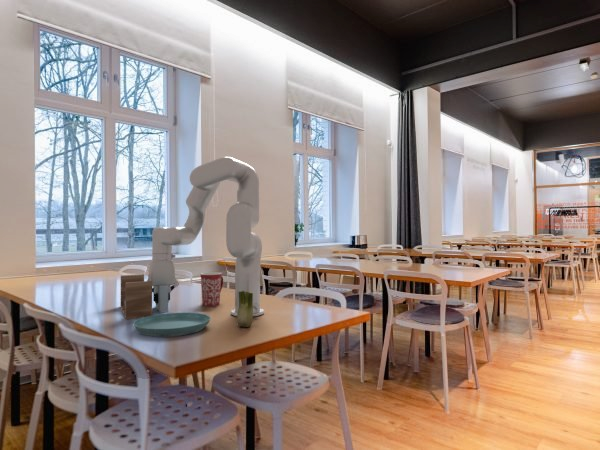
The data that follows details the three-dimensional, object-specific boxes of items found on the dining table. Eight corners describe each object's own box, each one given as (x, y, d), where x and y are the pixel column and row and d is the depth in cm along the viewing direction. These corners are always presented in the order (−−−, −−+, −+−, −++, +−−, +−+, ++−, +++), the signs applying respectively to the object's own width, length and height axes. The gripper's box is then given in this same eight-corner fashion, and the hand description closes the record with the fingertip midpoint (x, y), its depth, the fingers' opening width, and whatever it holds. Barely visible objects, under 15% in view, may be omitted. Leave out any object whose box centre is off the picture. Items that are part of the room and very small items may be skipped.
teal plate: (200, 318, 151) (200, 309, 151) (219, 333, 130) (219, 323, 130) (129, 325, 140) (130, 315, 140) (137, 343, 119) (137, 332, 119)
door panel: (168, 311, 162) (168, 286, 162) (160, 312, 161) (160, 286, 161) (163, 306, 173) (163, 282, 173) (155, 307, 172) (155, 283, 172)
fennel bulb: (254, 327, 137) (255, 291, 137) (241, 329, 134) (241, 292, 134) (248, 324, 142) (248, 289, 142) (234, 325, 139) (234, 290, 140)
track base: (152, 316, 153) (152, 281, 153) (125, 319, 149) (126, 283, 149) (143, 304, 176) (143, 274, 176) (120, 306, 172) (120, 275, 172)
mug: (212, 307, 171) (213, 274, 171) (195, 305, 175) (195, 273, 175) (230, 302, 183) (230, 272, 183) (214, 300, 187) (214, 270, 187)
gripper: (180, 256, 174) (180, 299, 174) (139, 257, 167) (138, 302, 167) (184, 257, 168) (184, 302, 168) (141, 258, 160) (141, 306, 160)
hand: (161, 302), depth 167 cm, fingers open, 3 cm apart
